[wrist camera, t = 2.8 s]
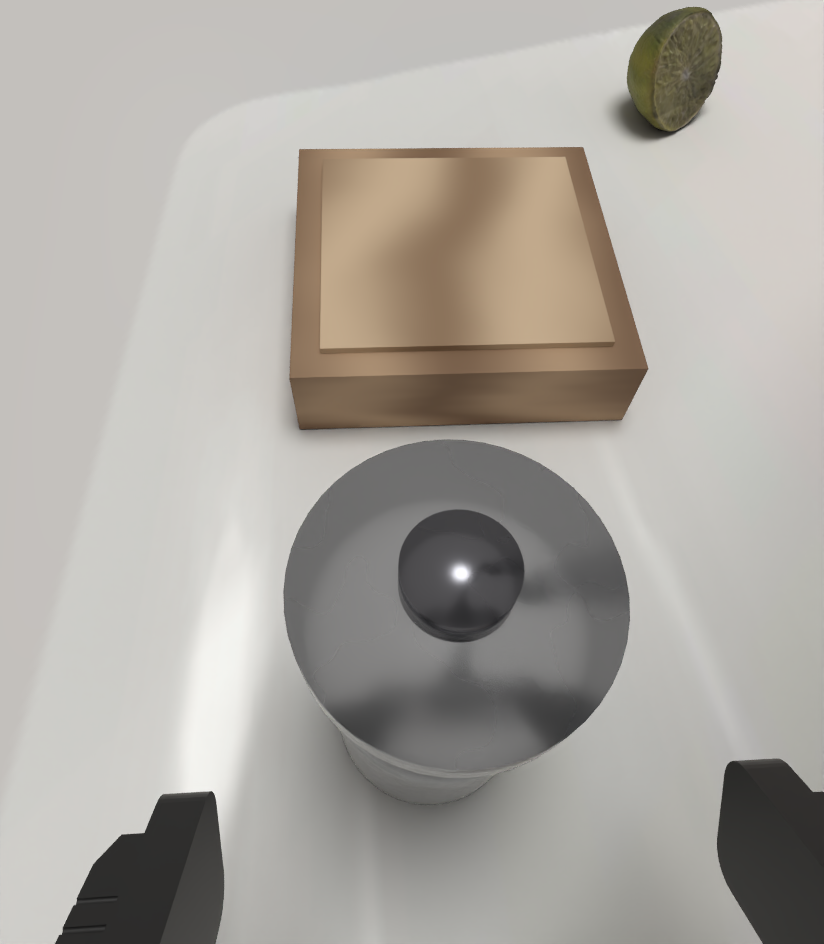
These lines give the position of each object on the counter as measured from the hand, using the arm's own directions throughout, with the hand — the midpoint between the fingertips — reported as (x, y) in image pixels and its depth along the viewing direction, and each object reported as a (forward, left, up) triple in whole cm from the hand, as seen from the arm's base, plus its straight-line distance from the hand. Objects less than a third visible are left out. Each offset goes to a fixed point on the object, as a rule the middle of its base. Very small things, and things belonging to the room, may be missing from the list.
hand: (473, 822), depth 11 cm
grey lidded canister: (0, -4, -9) cm, 10 cm away
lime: (-14, -33, -9) cm, 37 cm away
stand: (-2, -20, -9) cm, 22 cm away
